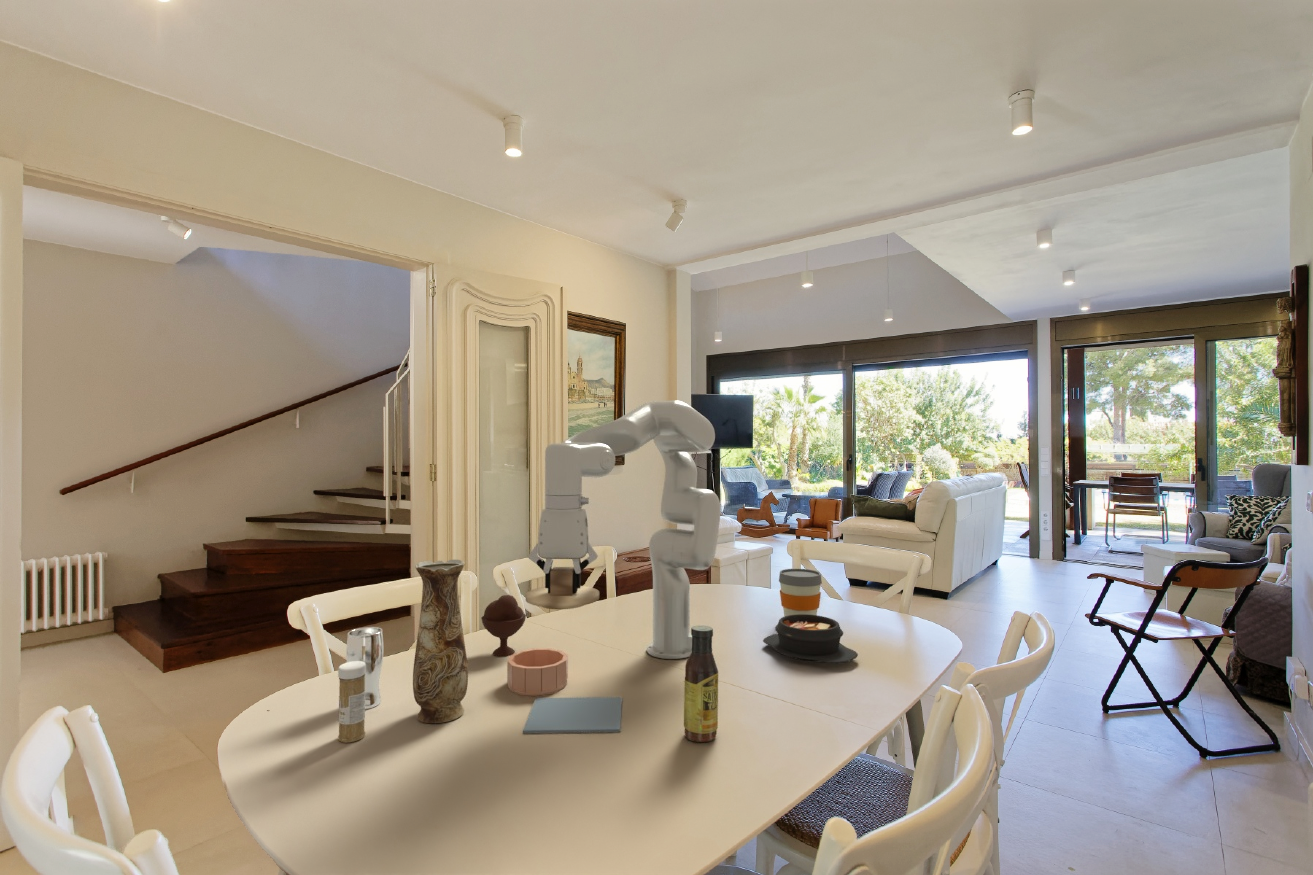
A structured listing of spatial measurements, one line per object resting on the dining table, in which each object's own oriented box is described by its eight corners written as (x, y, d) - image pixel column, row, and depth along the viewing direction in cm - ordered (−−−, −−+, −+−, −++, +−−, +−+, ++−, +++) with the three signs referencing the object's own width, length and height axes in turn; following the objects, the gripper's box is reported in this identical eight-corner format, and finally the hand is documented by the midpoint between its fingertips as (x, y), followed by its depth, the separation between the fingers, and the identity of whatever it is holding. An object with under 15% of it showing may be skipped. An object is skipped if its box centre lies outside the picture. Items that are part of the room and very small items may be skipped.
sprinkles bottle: (334, 737, 117) (334, 664, 117) (360, 729, 120) (360, 658, 120) (342, 746, 113) (343, 670, 113) (369, 738, 116) (369, 664, 116)
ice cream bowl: (530, 646, 168) (530, 589, 168) (516, 661, 157) (517, 600, 157) (491, 645, 169) (491, 588, 169) (475, 659, 158) (475, 599, 158)
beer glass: (390, 699, 133) (390, 628, 134) (365, 713, 127) (365, 638, 127) (364, 695, 136) (364, 625, 136) (338, 708, 129) (338, 634, 129)
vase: (416, 729, 120) (416, 570, 120) (409, 708, 129) (410, 560, 129) (472, 718, 124) (473, 565, 125) (462, 699, 134) (462, 556, 134)
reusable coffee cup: (794, 614, 199) (794, 566, 199) (829, 622, 190) (829, 572, 190) (770, 622, 191) (770, 572, 191) (806, 631, 182) (806, 579, 182)
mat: (621, 699, 134) (621, 696, 134) (620, 731, 119) (620, 729, 119) (536, 700, 133) (536, 697, 133) (523, 733, 118) (523, 730, 118)
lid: (602, 594, 138) (602, 562, 139) (595, 612, 123) (595, 576, 124) (533, 594, 138) (533, 562, 139) (518, 612, 123) (518, 576, 124)
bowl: (570, 673, 149) (570, 648, 149) (563, 696, 136) (563, 667, 136) (514, 674, 149) (514, 648, 149) (502, 696, 136) (502, 668, 136)
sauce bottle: (707, 747, 113) (708, 635, 113) (677, 738, 116) (677, 629, 116) (724, 733, 118) (724, 626, 119) (694, 725, 122) (694, 621, 122)
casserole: (747, 649, 166) (747, 617, 166) (792, 635, 178) (792, 605, 178) (829, 677, 147) (829, 640, 147) (872, 659, 159) (872, 625, 159)
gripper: (605, 501, 135) (605, 587, 135) (526, 501, 135) (525, 587, 135) (602, 505, 127) (602, 596, 127) (518, 504, 127) (518, 596, 127)
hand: (562, 590), depth 131 cm, fingers closed on lid, 4 cm apart
